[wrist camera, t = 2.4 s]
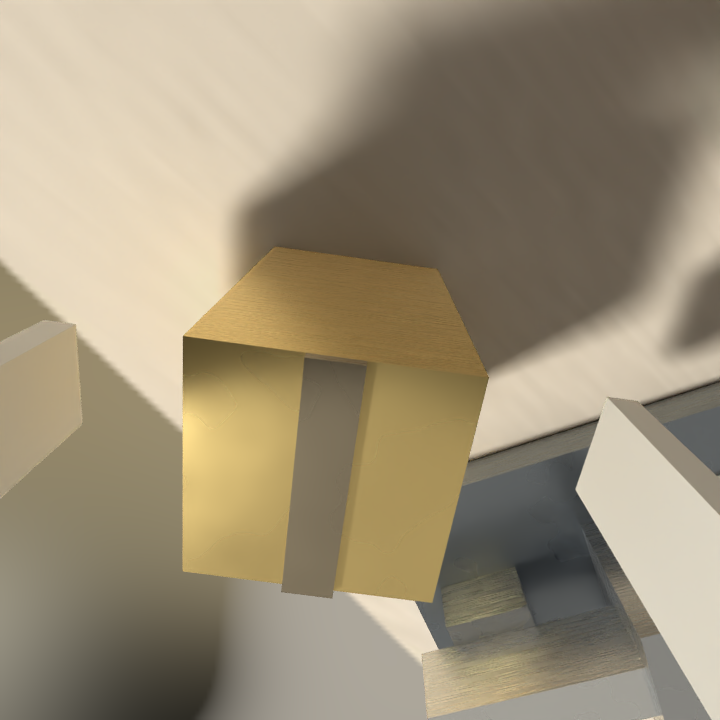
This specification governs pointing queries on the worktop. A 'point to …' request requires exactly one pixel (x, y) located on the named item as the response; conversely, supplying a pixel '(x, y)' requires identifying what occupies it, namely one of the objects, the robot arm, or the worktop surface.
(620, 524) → the robot arm
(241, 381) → the yellow block
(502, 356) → the worktop surface
